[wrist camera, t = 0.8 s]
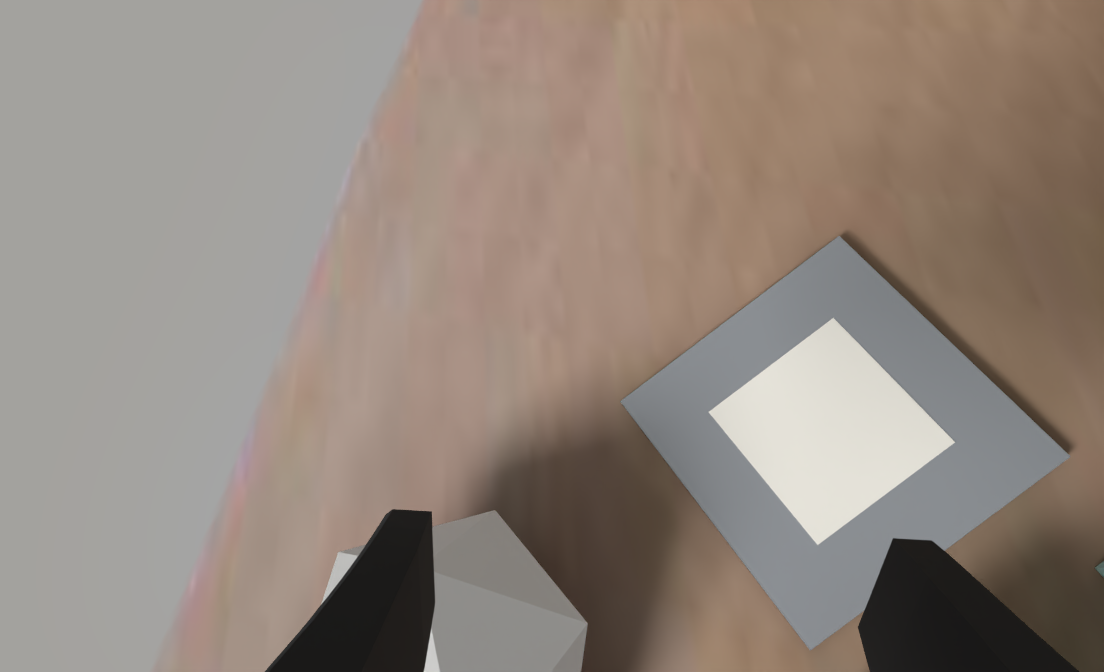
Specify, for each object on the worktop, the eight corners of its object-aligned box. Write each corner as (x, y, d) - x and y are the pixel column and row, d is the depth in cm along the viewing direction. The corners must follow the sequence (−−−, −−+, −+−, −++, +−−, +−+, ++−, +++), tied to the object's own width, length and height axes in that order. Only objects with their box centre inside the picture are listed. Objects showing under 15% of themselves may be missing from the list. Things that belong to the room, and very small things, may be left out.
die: (506, 474, 27) (246, 505, 21) (679, 564, 20) (374, 651, 14) (482, 673, 28) (224, 762, 21) (641, 822, 21) (336, 1012, 15)
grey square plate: (1065, 458, 22) (1070, 456, 21) (809, 649, 22) (810, 650, 21) (837, 240, 26) (839, 235, 25) (622, 403, 26) (620, 401, 25)
